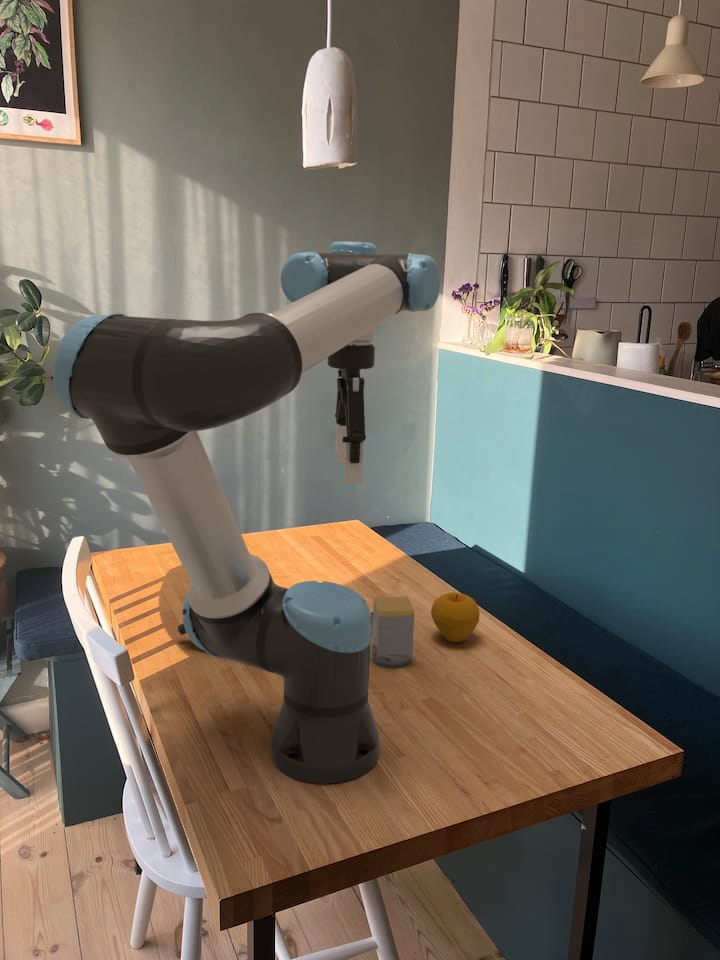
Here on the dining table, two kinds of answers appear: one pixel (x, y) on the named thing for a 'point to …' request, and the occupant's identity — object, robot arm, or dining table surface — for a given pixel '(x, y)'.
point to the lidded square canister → (393, 626)
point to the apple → (455, 616)
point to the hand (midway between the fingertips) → (348, 472)
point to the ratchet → (389, 657)
